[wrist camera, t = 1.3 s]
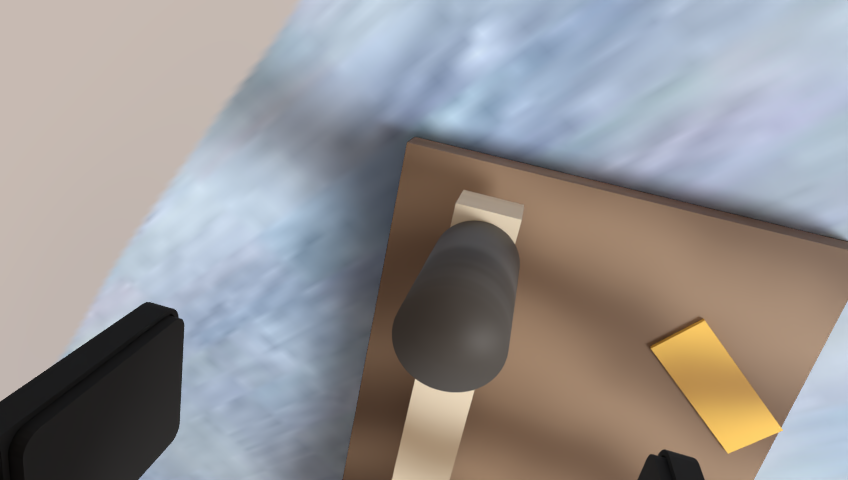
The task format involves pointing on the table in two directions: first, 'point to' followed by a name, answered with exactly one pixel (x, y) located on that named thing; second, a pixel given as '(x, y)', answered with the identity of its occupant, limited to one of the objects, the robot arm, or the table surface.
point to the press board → (608, 327)
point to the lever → (456, 329)
